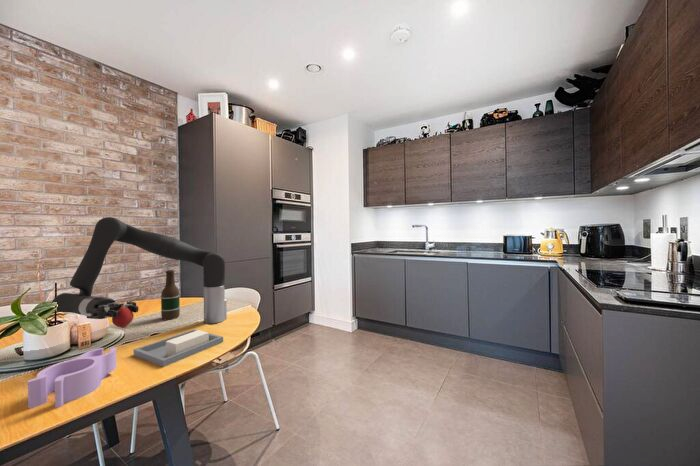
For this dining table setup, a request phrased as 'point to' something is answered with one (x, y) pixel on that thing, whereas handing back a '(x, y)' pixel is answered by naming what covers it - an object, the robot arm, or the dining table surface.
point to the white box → (186, 342)
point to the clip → (71, 378)
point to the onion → (123, 317)
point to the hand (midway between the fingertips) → (127, 311)
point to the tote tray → (158, 354)
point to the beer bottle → (170, 298)
